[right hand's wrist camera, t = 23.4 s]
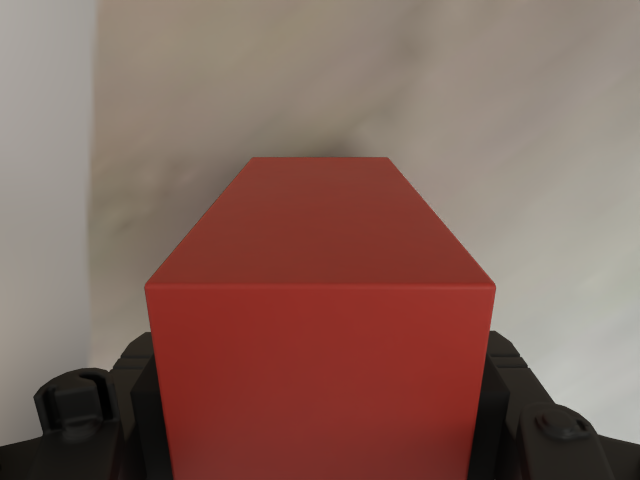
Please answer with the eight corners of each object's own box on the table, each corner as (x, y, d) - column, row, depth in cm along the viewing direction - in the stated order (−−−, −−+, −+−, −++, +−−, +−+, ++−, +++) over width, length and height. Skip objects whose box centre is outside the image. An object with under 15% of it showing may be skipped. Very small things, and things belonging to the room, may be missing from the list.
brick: (260, 325, 21) (191, 612, 10) (251, 157, 18) (141, 284, 7) (379, 325, 21) (448, 612, 10) (388, 157, 18) (498, 284, 7)
